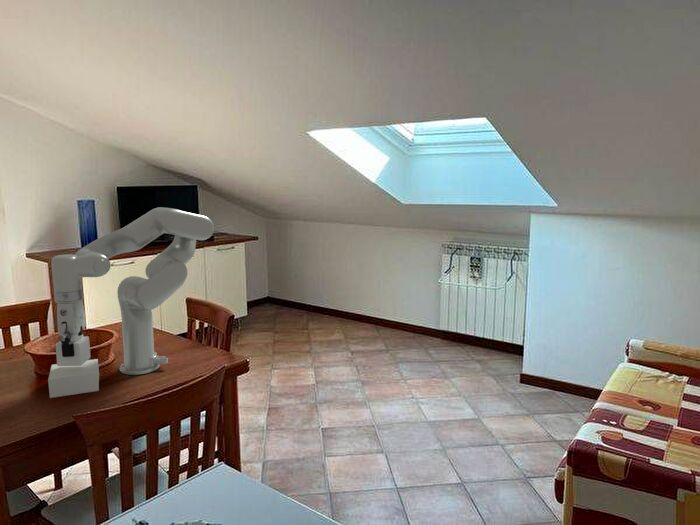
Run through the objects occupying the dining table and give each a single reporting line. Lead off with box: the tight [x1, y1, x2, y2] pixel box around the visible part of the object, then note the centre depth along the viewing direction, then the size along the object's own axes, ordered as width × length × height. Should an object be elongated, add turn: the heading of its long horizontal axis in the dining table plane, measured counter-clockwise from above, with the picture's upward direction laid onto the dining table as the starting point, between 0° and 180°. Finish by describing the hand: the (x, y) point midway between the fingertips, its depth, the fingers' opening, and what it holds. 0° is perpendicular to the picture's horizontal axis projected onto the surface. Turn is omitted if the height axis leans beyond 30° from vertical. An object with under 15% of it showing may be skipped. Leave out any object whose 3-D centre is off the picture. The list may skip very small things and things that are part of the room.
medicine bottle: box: [54, 326, 92, 366], centre depth 158 cm, size 7×7×12 cm
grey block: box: [47, 358, 100, 399], centre depth 160 cm, size 13×13×6 cm
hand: (73, 351), depth 159 cm, fingers closed on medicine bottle, 7 cm apart
